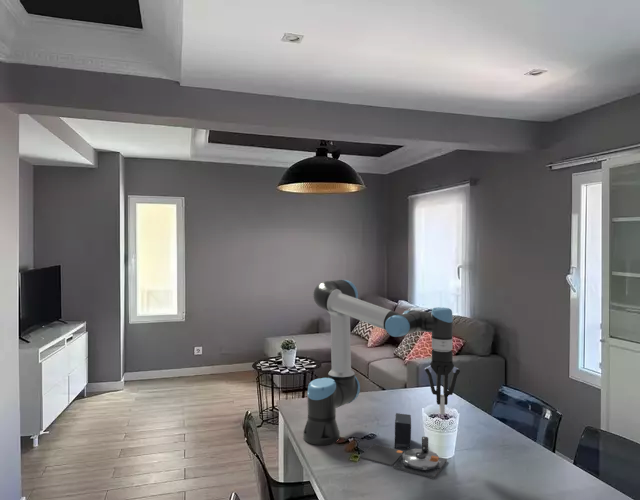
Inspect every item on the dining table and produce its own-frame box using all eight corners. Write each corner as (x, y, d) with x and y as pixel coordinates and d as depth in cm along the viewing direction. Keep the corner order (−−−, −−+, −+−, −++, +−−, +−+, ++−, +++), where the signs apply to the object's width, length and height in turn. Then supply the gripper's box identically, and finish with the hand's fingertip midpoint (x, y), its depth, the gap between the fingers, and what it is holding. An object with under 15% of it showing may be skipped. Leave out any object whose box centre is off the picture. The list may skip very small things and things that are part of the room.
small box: (410, 450, 180) (411, 423, 180) (394, 448, 181) (394, 422, 181) (411, 439, 190) (411, 414, 190) (395, 437, 192) (395, 412, 192)
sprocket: (395, 463, 166) (395, 444, 166) (408, 450, 177) (408, 432, 177) (434, 473, 158) (434, 454, 158) (445, 458, 170) (445, 440, 170)
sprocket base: (393, 468, 165) (393, 465, 165) (408, 452, 178) (408, 449, 178) (435, 479, 157) (435, 476, 157) (446, 461, 170) (446, 459, 170)
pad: (359, 457, 173) (359, 456, 173) (373, 445, 184) (373, 443, 184) (392, 466, 166) (392, 464, 166) (404, 452, 178) (404, 450, 178)
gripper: (425, 351, 168) (425, 416, 168) (462, 352, 167) (462, 417, 167) (423, 347, 176) (422, 409, 176) (458, 347, 174) (457, 410, 174)
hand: (441, 413), depth 171 cm, fingers closed
